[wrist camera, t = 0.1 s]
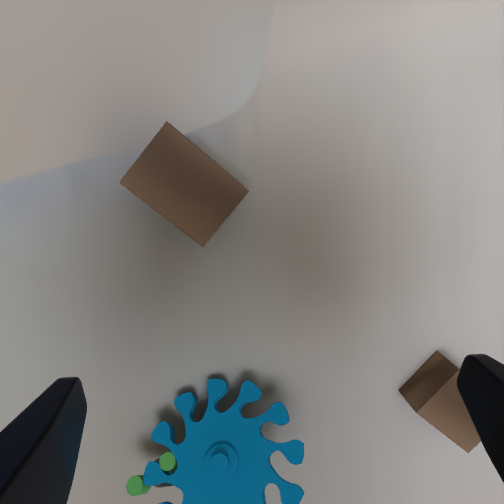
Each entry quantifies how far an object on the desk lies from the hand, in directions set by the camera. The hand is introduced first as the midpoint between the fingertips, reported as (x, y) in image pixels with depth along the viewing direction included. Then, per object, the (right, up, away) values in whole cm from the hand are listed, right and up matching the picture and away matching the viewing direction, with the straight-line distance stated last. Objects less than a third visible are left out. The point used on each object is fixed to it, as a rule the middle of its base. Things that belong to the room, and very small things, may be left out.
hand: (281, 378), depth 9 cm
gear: (-3, -9, +18) cm, 21 cm away
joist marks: (+4, 0, +16) cm, 17 cm away
